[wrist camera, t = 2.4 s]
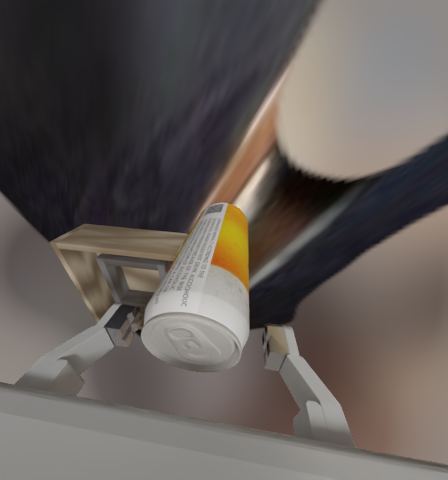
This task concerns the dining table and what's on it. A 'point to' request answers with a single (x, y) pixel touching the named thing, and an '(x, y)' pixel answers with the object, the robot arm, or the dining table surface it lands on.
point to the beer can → (203, 296)
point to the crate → (117, 264)
